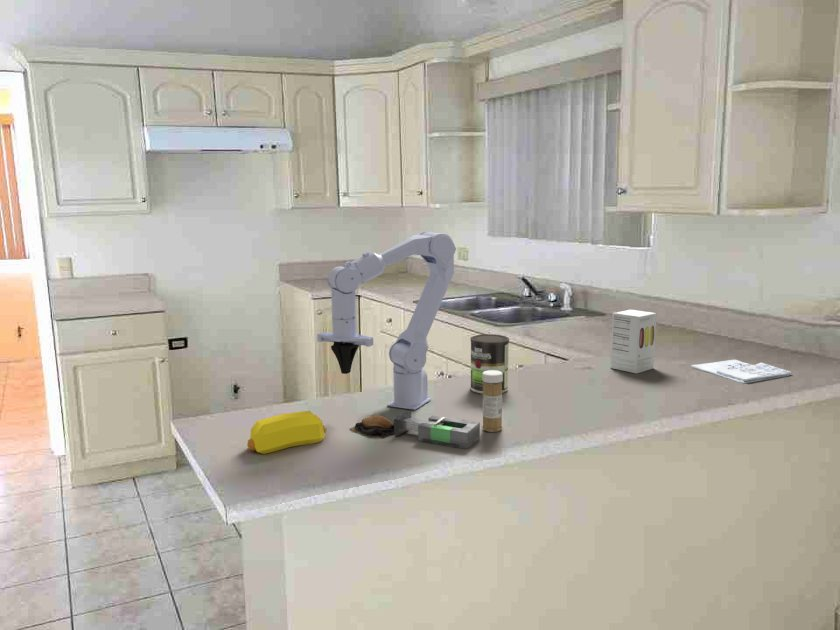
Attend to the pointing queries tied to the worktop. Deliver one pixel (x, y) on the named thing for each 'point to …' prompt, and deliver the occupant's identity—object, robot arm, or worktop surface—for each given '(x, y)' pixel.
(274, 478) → the worktop surface
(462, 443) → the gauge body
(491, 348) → the coffee can
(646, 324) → the supplement box
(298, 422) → the yellow banana
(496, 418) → the sprinkles bottle
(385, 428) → the bread roll
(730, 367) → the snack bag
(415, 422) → the grey angular piece
